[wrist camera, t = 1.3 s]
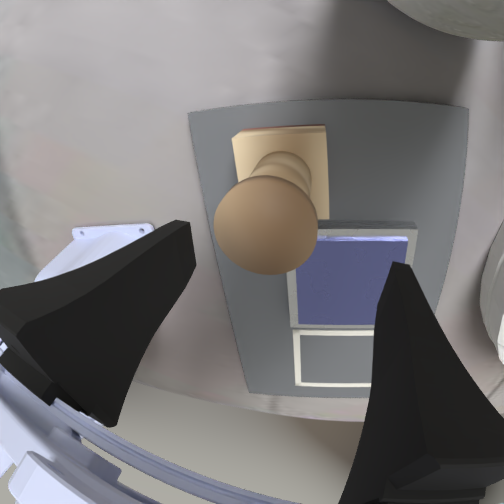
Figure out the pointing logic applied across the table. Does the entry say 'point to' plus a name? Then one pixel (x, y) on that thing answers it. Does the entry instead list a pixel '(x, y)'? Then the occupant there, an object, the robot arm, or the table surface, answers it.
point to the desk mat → (340, 208)
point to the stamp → (275, 198)
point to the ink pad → (348, 272)
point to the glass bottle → (458, 16)
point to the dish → (494, 293)
